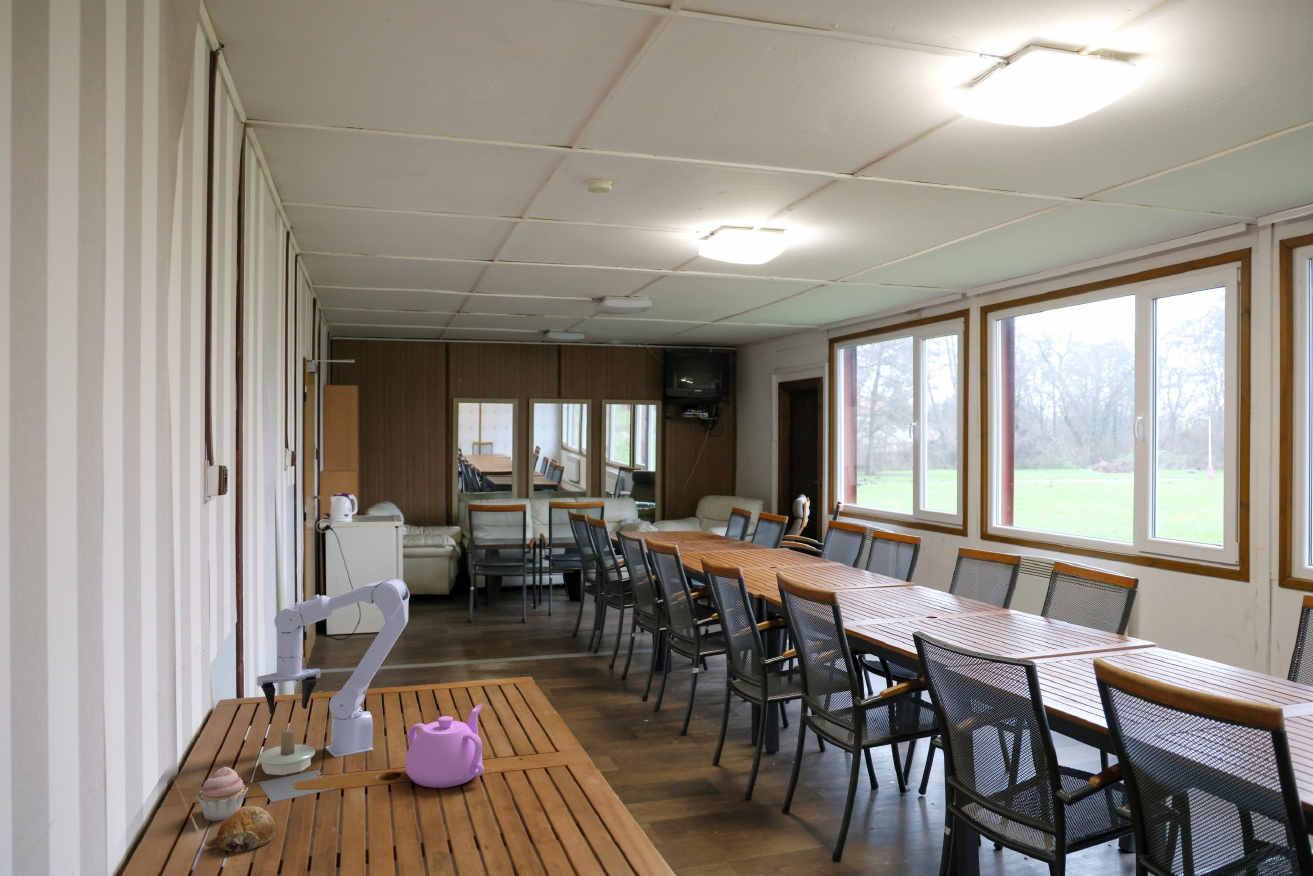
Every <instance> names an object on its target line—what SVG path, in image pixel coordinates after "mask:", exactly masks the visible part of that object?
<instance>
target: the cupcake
mask: <svg viewBox="0 0 1313 876" xmlns="http://www.w3.org/2000/svg"><path fill="white" fill-rule="evenodd" d="M202 788H203V790H201V791H199V794H197V795H196V799H197V800H198V802H199V804H200V806H201V809H202V813H203V818H204V819H205V820H207V821H211V822H219V821H224V820H225V819H227V818H228V817H229V816H230V815H231V814H232V813H233V812H235V811H237V810H238V809H240V808H242V803H243V800H244V798H245V796H246V793H247V791H248V790H249V787H246V786H245V784H244V781H243V780H242V778H241V777H239V775H238V773H237V772H236V771H235V770H234V769H233V768H230V767H226V766H223V767H222V768H219V769H217V771H216V772H215V773H214V774H213V776H212V777H210V778H208V779H206V780H205V782H204V783H203V787H202Z"/></svg>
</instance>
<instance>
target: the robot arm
mask: <svg viewBox="0 0 1313 876" xmlns="http://www.w3.org/2000/svg"><path fill="white" fill-rule="evenodd" d="M410 596H411V595H410V591H409V589H408V586H407V584H406V583H405V581H404V580H402V579H400V578H399V577H390V578H389V579H387V580H386V581H385V580H378V581H376V582H371V583H367V584H364V585H362V586H359V587H356V588H354V589H351V590H349V591H346V592H343V593H341V594H338V595H335V596H333V597H330V596H327V595H320V594H316V595H313V596H312V597H311V599H309V600H306V601H303V602H300V601H297V602H295V603H294V604H293V605H290V606H288V607H286V608H284V609H281V610H280V611H279V612H278V613H277V614H276V615H275V617H274V626H275V628H276V629H277V644H276V645H277V646H276V647H277V648H276V649H277V650H276V651H277V653H276V672H272V673H268V674H264V675H260V676H256V685H257V686H258V687H260V688H261V689H262V691H263V694H264V696H265V699H266V702H267V706H268V712H269V714H270V715H274V714H275V696H276V695H275V694H276V690H277V689H276V687H275V684H279V683H285V682H295V681H300V680H301V690H302V693H301V694H302V695H301V708H303V710H306V709H308V705H309V701H310V697H311V695H312V692H313V690H314V689H315V687H316V685H317V683H318V679H320V678H321V669H320V668H309V669H306V668H305V669H303V668H302V667H303V666H302V665H303V627H304V626H310V625H312V624H315V623H317V622H320V621H324V620H325V619H328V618H331V617H332V616H333V613H334V612H335V610H338V609H339V610H340V609H343V608H346V607H347V606H348V607H349V606H351V605H355V604H358V603H361V602H364V603H366V604H370V605H372V604H375V606H376V607H377V609H378V610H379V611H380V612H381V613H382V616H383V619H384V625H383V626H382V628H381V629H380V631H378V634H377V635H376V636H375V638H374V640H373V642H372V643H371V645H369V647H368V649H367V651H366V653H365V654H364V656H363V657H362V659H361V660H360V662H359V663H358V665H357V667H356V668H355V670H354V671H353V673H352V674H351V676H350V677H349V679H348V680H347V681H346V683H344V685H343V686H342V687H341V689H340V690H339V691H338V692H337V693H335V694H334V695H332V696H331V698H330V699H329V703H328V707H329V708H328V709H329V712H330V713H331V734H330V735H331V736H330V737H331V739H330V742H331V743H330V745H328V746H327V745H326V746H325V749H326V750H327V751H328V752H329V753H330V754H331V755H332V756H333V758H337V757H343V756H348V755H353V754H357V753H358V754H359V753H362V752H363V753H364V752H368V751H373V750H374V748H373V737H374V735H373V734H374V733H373V732H374V730H373V729H374V721H373V716H372V714H371V712H370V711H368V710H367V711H365V710H364V711H363V708H362V706H361V705H362V704H363V703H364V701H365V699H366V693H367V689H368V688H369V686H370V683H371V681H372V680H373V678H374V676H375V675H376V673H377V672H378V671H379V669H380V667H381V665H382V664H383V663H384V661H385V659H386V657H388V655H389V653H390V652H391V650H392V648H393V647H394V645H395V643H396V642H397V641H398V639H399V638H400V636H401V634H402V632H403V631H404V629H405V628H406V626H407V624H408V622H409V599H410Z"/></svg>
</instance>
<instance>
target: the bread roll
mask: <svg viewBox="0 0 1313 876" xmlns="http://www.w3.org/2000/svg"><path fill="white" fill-rule="evenodd" d="M275 829H276V823H275V820H274V818H273V816H272V815H271V813H269V812H268V811H267V810H266V809H264V808H262V807H260V806H255V805H254V806H241V808H240V809H238V810H237V811H235V812H233V813H232V814H231V815H230V816H229V817H228V818H227V819H225V820H222V823H221V825H219V829H218V832H217V834H216V835H217V836H216V843H217V846H218V848H219V849H220V850H222V851H225V852H230V853H231V852H234V853H238V852H245V851H249V850H253V849H256V848H259V847H262V846H264V845H266V844H267V843H269V842H270V841H271V840H272V838H273V837H274V835H275V831H276V830H275Z"/></svg>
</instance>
